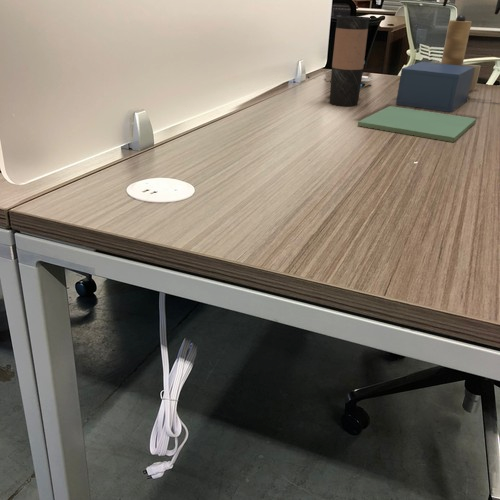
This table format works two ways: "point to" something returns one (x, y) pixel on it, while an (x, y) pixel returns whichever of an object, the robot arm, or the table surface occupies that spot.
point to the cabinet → (434, 86)
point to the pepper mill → (456, 41)
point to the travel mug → (348, 59)
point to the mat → (419, 123)
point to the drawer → (474, 77)
